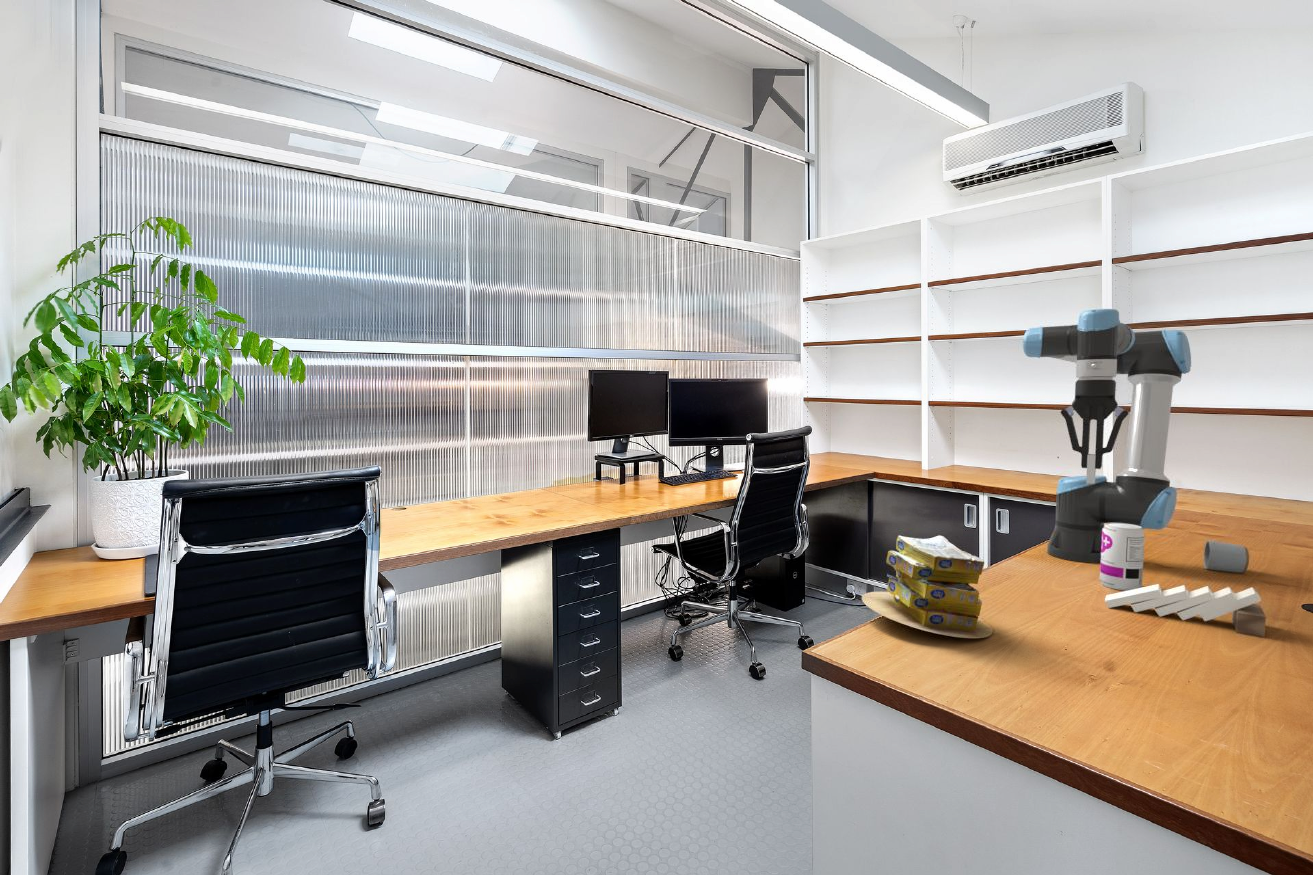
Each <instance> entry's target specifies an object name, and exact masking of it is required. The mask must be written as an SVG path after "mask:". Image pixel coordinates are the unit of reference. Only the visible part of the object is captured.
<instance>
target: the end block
mask: <svg viewBox="0 0 1313 875" xmlns="http://www.w3.org/2000/svg"><path fill="white" fill-rule="evenodd" d="M1231 618H1232V619H1231V620H1232V622H1233V626H1234V630H1235V632H1236V633H1237V634H1243V635H1248V636H1254V637H1260V638H1265V636H1266V634H1265V633H1266V621H1267V616H1266V614H1265V612H1264V610H1263V608H1262V606H1261V604H1257V603H1254V604H1251V605H1249V606H1246V607H1243V608H1241V609H1238V610H1235V611H1232V617H1231Z"/></svg>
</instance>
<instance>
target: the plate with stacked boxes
mask: <svg viewBox="0 0 1313 875" xmlns="http://www.w3.org/2000/svg"><path fill="white" fill-rule="evenodd" d="M895 549H896V550H891V549H890V550H888V551H887V556H886V561H885V562H886V564H887V565H888V566H890V567H892V568H893V569H894V571H896V575H895V576H894V575H890V574H888V573H887V574H886V576H887V578H888V582H887V583H888V584H887V586H886V587H887V588H886V591H870V592H866V593H864V594H863V595H862V596H861V600H862V602H863V603H864V604H865V605H866V607H867V608H869V609H870V610H872V611H873V612H875V613H878V614H879V615H881V616H883V617H885V618H887V619H889V620H891V621H895V622H897V623H900V624H903V625H906V626H909V627H910V628H915V629H918V630H921V631H925V632H929V633H933V634H938V635H943V636H949V637H954V638H961V639H981V638H982V639H983V638H987V637H990V636H991V635H992V634H993V633H994V632H993V628H992V626H990V625H989V624H988V623H987V622H985V621H984V620H983V619H981V618H980V616H981V610H982V604H983V601H982V599H980V592H979V590H977V589H976V588H975V587H973V586H971V584H974V585H979V579H980V576H981V575H982V573H983V569H984V565H985V561H984V559H983V558H982V559H981V558H979V557H978V556H976V555H972V554H971V553H968V552H967V551H965V550H962V549H960V548H958V547H957V546H956V545H954V544H953V543H951V542H950V541H949V540H948V539H947V538H946V537H945V536H943V535H937V536H934V537H930V538H921V537H910V536H909V537H908V536H902V535H898V536H897V538H896V546H895Z"/></svg>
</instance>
